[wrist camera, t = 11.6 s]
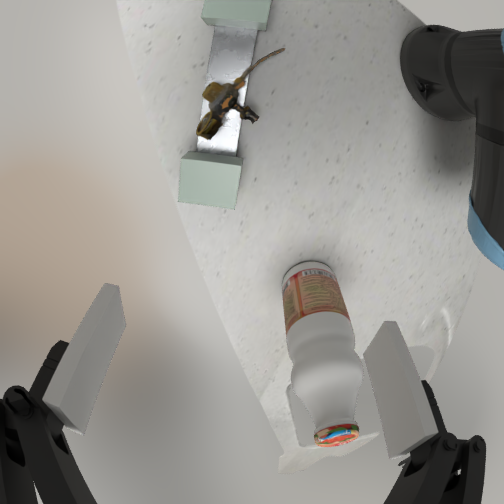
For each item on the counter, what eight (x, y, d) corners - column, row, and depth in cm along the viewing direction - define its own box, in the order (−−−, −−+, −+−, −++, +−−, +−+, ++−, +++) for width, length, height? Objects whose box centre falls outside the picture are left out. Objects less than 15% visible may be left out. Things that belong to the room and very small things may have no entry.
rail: (264, -1, 25) (264, -7, 22) (231, 190, 39) (229, 196, 37) (225, -5, 24) (223, -11, 22) (196, 185, 39) (192, 191, 37)
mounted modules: (272, -6, 23) (274, -16, 19) (237, 197, 37) (234, 209, 34) (215, -11, 22) (210, -22, 19) (185, 190, 37) (178, 201, 33)
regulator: (261, 32, 26) (176, 117, 30) (274, 29, 23) (179, 123, 27) (298, 72, 31) (220, 151, 35) (314, 74, 28) (229, 161, 32)
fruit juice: (321, 250, 44) (369, 414, 21) (343, 288, 48) (386, 435, 25) (271, 275, 47) (278, 441, 23) (296, 310, 51) (313, 457, 28)
